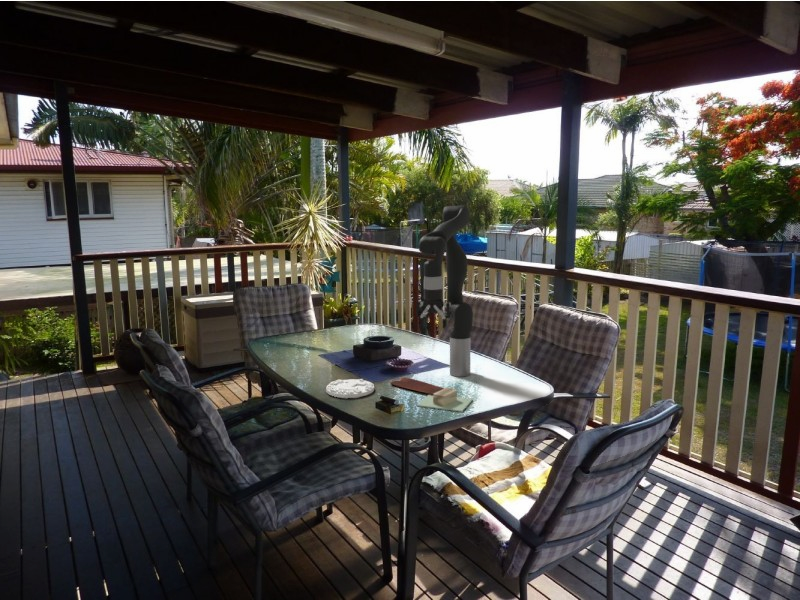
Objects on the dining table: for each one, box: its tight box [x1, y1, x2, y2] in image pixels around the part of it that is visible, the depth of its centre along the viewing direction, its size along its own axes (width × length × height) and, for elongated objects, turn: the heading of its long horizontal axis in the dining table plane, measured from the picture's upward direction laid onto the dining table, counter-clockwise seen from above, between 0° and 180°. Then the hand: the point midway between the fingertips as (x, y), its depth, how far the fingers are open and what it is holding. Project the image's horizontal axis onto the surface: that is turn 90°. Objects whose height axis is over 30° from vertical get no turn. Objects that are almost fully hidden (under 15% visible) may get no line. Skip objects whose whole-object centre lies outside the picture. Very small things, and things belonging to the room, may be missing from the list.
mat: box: [416, 393, 474, 413], centre depth 226 cm, size 14×18×1 cm
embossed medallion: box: [325, 378, 375, 400], centre depth 243 cm, size 20×20×3 cm
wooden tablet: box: [389, 377, 445, 395], centre depth 243 cm, size 27×10×2 cm, turn 45°
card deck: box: [433, 387, 458, 406], centre depth 225 cm, size 5×9×4 cm, turn 142°
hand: (434, 327), depth 232 cm, fingers open, 8 cm apart
